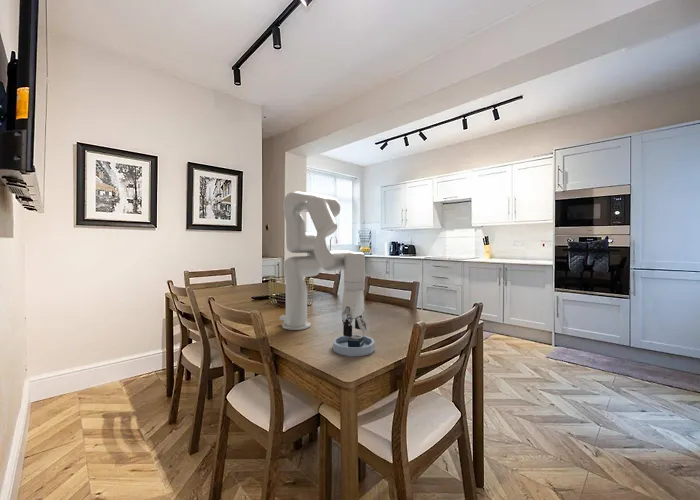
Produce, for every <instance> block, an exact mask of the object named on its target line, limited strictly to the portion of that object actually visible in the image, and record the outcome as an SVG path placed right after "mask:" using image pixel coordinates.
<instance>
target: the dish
mask: <svg viewBox="0 0 700 500" xmlns="http://www.w3.org/2000/svg"><path fill="white" fill-rule="evenodd" d="M352 335H353V336H362V335H363V334H352ZM349 338H350V337H348V336H344V335H343V334H342V335H340V336H337V337H335V338H333V339H332V351H333V352H335V353H336V354H338V355H342V356H345V357H362V356H363V357H364V356H366V355H370V354H372V353H374V352H375V350H376V341H375V339H374V338H373V337H370V336H367V335H364V336H363V346H362V347H348V339H349Z"/></svg>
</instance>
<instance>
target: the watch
mask: <svg viewBox="0 0 700 500" xmlns="http://www.w3.org/2000/svg"><path fill="white" fill-rule="evenodd" d="M355 319H356V320H357V322H358V325H359V327H360V329H359V330H361V331H362V334H361V335H362V336H353V335H354V334H352V337H350V338H349V339H348V347H362V346H363V336H366V333H367V331H368V325H367V322H366V320H365V319H364V318H360V317H357V318H355ZM355 319H354V320H355ZM348 321H350V319H348Z"/></svg>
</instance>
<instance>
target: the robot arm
mask: <svg viewBox="0 0 700 500" xmlns="http://www.w3.org/2000/svg"><path fill="white" fill-rule="evenodd" d="M282 210H283V215H284V219H285V236H286V237H285V238H286V239H285V240H286V241H285V242H286V249H287V251H288V252H289V253H291V254H306V255H300V256H299V255H297V256H296V255H295V256H291V257H288V258H286V259H285V260H284V262H283V273H284V281H285V314H282V315H280V316H279V318H278V319H279V321H283V323H282V325H281V326H282V329H284V330H287V331H288V330H289V331H302V330H306V329H309V328H310V327H311V322H310V321H308V285H307V283H306V282H305V280H304V278H309V277H315V276H317V275H319V274H320V272H321V270H322V269H323V270H324V271H327V272H333V271H343V294H342V302H341V319H342V321H341V322H342V325H343V326H342V328H343V331H342V333H343V334H342V336H343V335H344V336H348V337H352V335H353V325H352V323H353V320H354V329H356V330H361V329H360V327H359V325H358V322H357V320H356V319H355V318H357V317H360V318H363V319H364V318H365V316H364V314H365V307H366V305H365V295H364V291H365V288H366V287H365V284H366V283H365V282H366V281H365V277H366V275H365V274H366V272H365V271H366V269H365V268H366V256H365V253H363V252H362V251H352V250H348V249H347V250H346V249H345V250H344V249H341V250H339V249H337V250H336V249H335V250H330V249H329V246H328V245H327V241H326V240H327V239H326V238H328V237H329V236H331V235H333V234H334V233H335V232H337V229H338V224H337V222H336V218H335V217H337V216H338V215H339V214H340V211H341V203H340V201H339V200H338V199H337V198H336V197H334V196H328V195H324V194H321V193H320V194H319V193H314V192H306V191H305V192H304V191H290V192H288V193H287V194H286V195H285V197H284V199H283V205H282ZM301 212H304V213H308V214H309V216H310V219H311V221H312V223H313V225H314V229H315V230H316V233H315V232H312V231H311V232H310V231H309V232H307V231H306V220H305V218H304V217H303V215H302V214H301ZM348 319H350V320H349V321H348Z"/></svg>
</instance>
